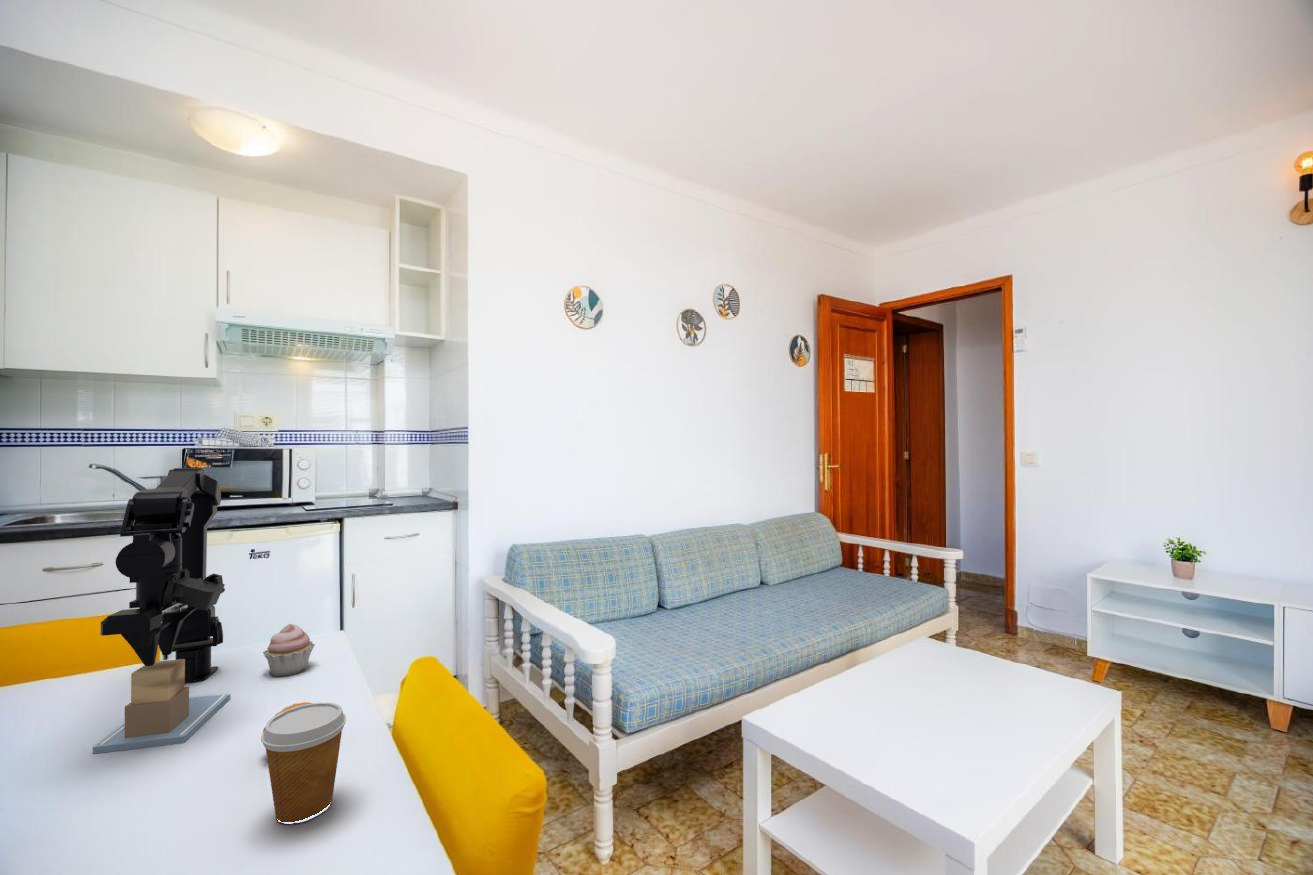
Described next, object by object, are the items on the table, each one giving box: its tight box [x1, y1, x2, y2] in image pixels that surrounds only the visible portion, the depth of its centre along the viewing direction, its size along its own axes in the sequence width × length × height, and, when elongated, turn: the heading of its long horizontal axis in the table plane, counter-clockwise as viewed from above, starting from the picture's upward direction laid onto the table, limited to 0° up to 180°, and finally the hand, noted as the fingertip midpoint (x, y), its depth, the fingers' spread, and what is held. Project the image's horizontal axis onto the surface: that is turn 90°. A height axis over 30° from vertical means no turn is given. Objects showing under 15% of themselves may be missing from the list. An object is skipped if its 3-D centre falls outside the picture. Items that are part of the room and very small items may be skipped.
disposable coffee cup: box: [260, 702, 347, 822], centre depth 74 cm, size 10×10×12 cm
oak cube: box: [130, 659, 186, 705], centre depth 94 cm, size 5×5×5 cm
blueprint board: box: [92, 686, 231, 755], centre depth 96 cm, size 16×12×6 cm
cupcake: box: [262, 623, 316, 677], centre depth 119 cm, size 9×9×10 cm
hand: (158, 660), depth 93 cm, fingers open, 5 cm apart
